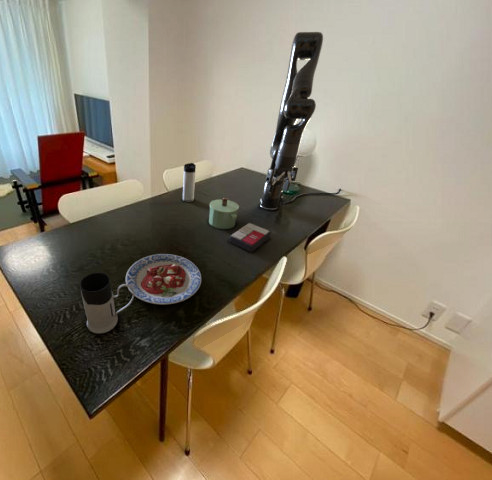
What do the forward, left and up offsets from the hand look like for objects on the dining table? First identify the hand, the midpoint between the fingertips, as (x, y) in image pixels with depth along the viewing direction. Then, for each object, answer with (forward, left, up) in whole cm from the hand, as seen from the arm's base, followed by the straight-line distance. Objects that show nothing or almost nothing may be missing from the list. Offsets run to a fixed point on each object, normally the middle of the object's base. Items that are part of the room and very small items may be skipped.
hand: (277, 191), depth 115 cm
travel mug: (+32, -35, -18) cm, 51 cm away
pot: (+21, -7, -18) cm, 28 cm away
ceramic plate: (+54, +31, -18) cm, 65 cm away
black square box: (+14, +10, -18) cm, 25 cm away
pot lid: (+21, -7, -9) cm, 24 cm away
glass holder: (+71, +46, -18) cm, 87 cm away
